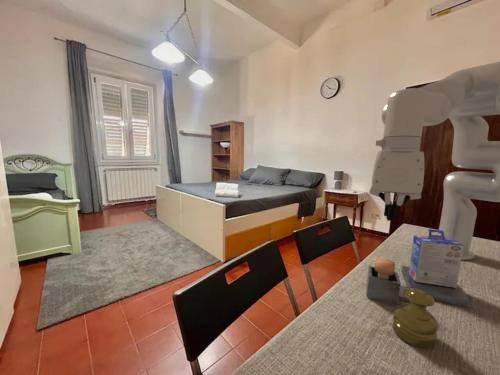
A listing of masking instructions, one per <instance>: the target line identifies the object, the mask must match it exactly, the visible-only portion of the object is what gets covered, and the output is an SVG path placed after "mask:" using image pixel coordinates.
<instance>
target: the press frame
mask: <svg viewBox="0 0 500 375" xmlns="http://www.w3.org/2000/svg"><path fill="white" fill-rule="evenodd" d="M374 268H375V266H373V265H369V266H368V270H367V278H366V285H365V287H366V288H365V289H366V297H367V299H369V300H373V301H377V302H380V303H384V304H388V305H390V306H394V307H396V306H397V305H399V301H400V302H406V303H409V302H410V301H409V299H408V298H407V297H406V296H405V295H404V291H405V290H406V289H409V288H415V289H421V290H423V291H424V292H426V293H428V294H429V295H431V296H432V297H433V298H434V300H435V301H436V302H437V301H438V302H442V303H445V304H450V305H454V306H458V307H461V308H466V309H468V308H469V304H470V300H469V298H468V297H467V295H466V294H465V293H464V291H462V289H461V287H460V286H459V285H458V284H457V287H456V288H454V287H447V286H441V285H434V284H427V283H420V282H415V281H414V279H413V278H412V277H411V276H410V274H409V270H410V266H407V265H402V266H401V275H402V277H403V281H404V282H405V285H401V280H400V277H399V274H398V272H397V271H395V270H394V274H393V275H389V279H388V280H386V279H382V278H378V272H377V271H376V270H375V269H374Z"/></svg>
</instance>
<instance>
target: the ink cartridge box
mask: <svg viewBox="0 0 500 375" xmlns="http://www.w3.org/2000/svg"><path fill="white" fill-rule="evenodd" d="M432 233H437V234H432ZM438 233H440V234H441V236H439V235H438ZM411 246H412V249H411V256H410V265H409V267H410V270H409V274H410V276H411V277H412V278H413V279H414V281H415V282H420V283H427V284H434V285H441V286H447V287H454V288H456V287H457V285H458V281H459V275H460V268H461V261H462V260H461V258H462V253H463V247H464V246H463V245H462V244H461V243H459V242H457V241H456V240H454V239H450V238H445V237H444V232H443V230H439V229H432V228H431V229H430V228H429V229H428V236H426V235H416V234H415V235H413V238H412V245H411Z"/></svg>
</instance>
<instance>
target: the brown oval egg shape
mask: <svg viewBox="0 0 500 375" xmlns="http://www.w3.org/2000/svg"><path fill="white" fill-rule="evenodd" d="M374 262H375V263H374V267H375V268H374V269H375V270H376V271H377V272H378V278H382V279H386V280H388V279H389V275H393V274H394V271H395V268H396V263H395V262H394V261H393V260H391V259H389V258H384V257H377V258H375V260H374Z"/></svg>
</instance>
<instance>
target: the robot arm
mask: <svg viewBox="0 0 500 375" xmlns="http://www.w3.org/2000/svg"><path fill="white" fill-rule="evenodd" d="M492 115H493V116H496V115H497V116H498V115H500V61H496V62H491V63H488V64H487V63H486V64H482V65H478V66H472V67H469V68H468V67H467V68H465V69H461V70H456V71H455V72H453V73H451V74H449V75H447V76H445V77H444V78H442V79H440V80H437V81H436V82H432V83H429V84H426V85H423V86H421V87H418V88H416V87H414V88H412V87H411V88H403V89H399V90H395V91H393V92H392V93H391V94H389V96H388V99H387V102H386V103H385V105H384V106H383V108H382V111H381V122H382V123H383V124H384V128H383V137H382V138H381V139H378V140H375V146H376V147H380V148H381V150H378V151H377V155H376V158H375V162H374V165H373V170H372V177H371V187H370V189H369V191H368V192H369V194H370V195H372V196H376V197H378V198H380V200H382V201H383V202H384V204H385V205H384V210H383V216H384V217H386V220H387V221H388V222H389V221H391V222H396V219H398V218H399V217H400V216H399V215H400V211H401V206H402V205H403V204H405V203H407V202H408V201H410V200H420V199H421V198H422V191H423V188H424V178H425V152H424V151H420V149H421V143H422V135H423V128H424V127H429V126H436V125H439V124H442V123H444V122H445V121H446V120H448V119H449V120H450V122H451V124H452V126H453V131H454V132H453V142H452V153H451V163H452V165H453V166H454V167H456V168H460V169H471V170H488V171H492V172H493V173H489V172H476V171H463V170H462V171H453V172H449V173H448V174H446V175H445V177H444V180H443V203H442V209H441V214H440V215H441V216H440V222H439V226H438V230H443V232H444V237H445V238H450V239H454V240H456V241H457V242H459V243H461V244H462V245H463V246H464V247H463V253H462V258H461V261H462V260H463V261H470V260H471V261H472V260H474V259H475V258H476V257H475V254H474V252H471V251H470V250H471V246H472V239H473V236H474V229H475V226H476V219H477V216H478V211H477V208H476V206H475V204H474V202H473V201H472V200H479V201H486V202H487V201H488V202H494V203H500V140H494V141H493V140H491V141H490V140H488V137H489V136H488V135H489V128H490V126H489V124H488V122H487V120H485V118H483V116H484V117H486V116H492ZM391 193H392V194H396V196H395V200H394V201H391V200H392V199H391V198H392V197H391V195H392V194H391ZM437 235H439V236H441V234H440V233H438V232H437Z"/></svg>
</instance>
